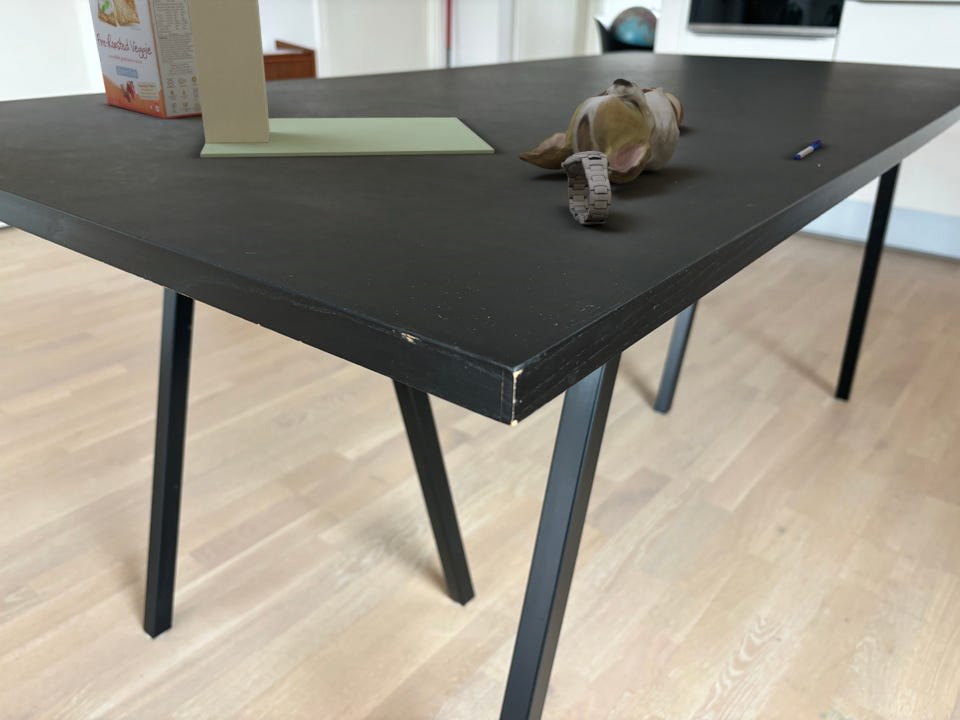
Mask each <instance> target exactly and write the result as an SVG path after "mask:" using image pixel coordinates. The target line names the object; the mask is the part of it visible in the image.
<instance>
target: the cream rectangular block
mask: <svg viewBox="0 0 960 720" xmlns="http://www.w3.org/2000/svg"><path fill="white" fill-rule="evenodd" d="M259 5H260V4H259V0H188V6H189V14H190V22H191V30H192V38H193V46H194V54H195V62H196V70H197V78H198V86H199V95H200V103H201V111H202V115H201V118H202V126H203V133H204V142H205V143H266V142H269V134H270V128H269V117H270V116H269V107H268V106H269V105H268V95H267V84H266V73H265V71H266V70H265V60H264V52H263V51H264V49H263V39H262V28H261V27H262V26H261V15H260V6H259Z"/></svg>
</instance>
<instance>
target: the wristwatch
mask: <svg viewBox="0 0 960 720" xmlns="http://www.w3.org/2000/svg"><path fill="white" fill-rule="evenodd" d="M609 165H610V161H609V158H608V156H607V155H606V154H604V153H602V152H597V151H587V152H580V153H577V154H574V155H572V156H570V157H569V158H567V159H566V161H565V162H562V168H563V169H562V170H564V171H565V174H566V176H567V193H568V195H567V196H568V210H569V212H570V213H571V214H572V216H573V219H574V220H575V221H576V222H578V223H579V224H580V225H583V226H587V225H588V226H593V225H604V224H605V223H606V220H607V219H608V216H609V214H610V211H611V206H612V190H611V184H610V181H609V180H608V171H607V168H608V167H609ZM588 198H589V199H588Z"/></svg>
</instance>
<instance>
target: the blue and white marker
mask: <svg viewBox="0 0 960 720" xmlns="http://www.w3.org/2000/svg"><path fill="white" fill-rule="evenodd" d="M821 141H822V140H821V139H816V140H814V141H813V142H812V144H810V145H809V146H808V147H806V148H805V149H803V150H801V151H799V152H798V153H796V154H795V155H794V157H793V160H796V161H798V160H801V159H802V158H804V157H807V156H808V155H809V154H811V153H812V152H815V151H816V150H818V149H820V148H821V147H822V145H823V144H822V142H821Z"/></svg>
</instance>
